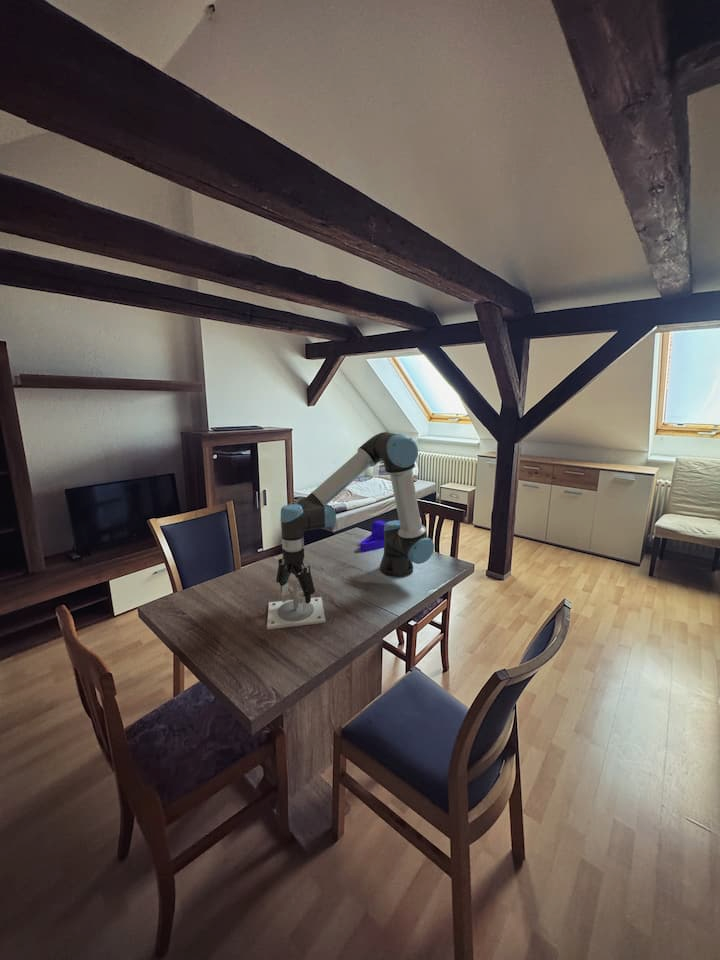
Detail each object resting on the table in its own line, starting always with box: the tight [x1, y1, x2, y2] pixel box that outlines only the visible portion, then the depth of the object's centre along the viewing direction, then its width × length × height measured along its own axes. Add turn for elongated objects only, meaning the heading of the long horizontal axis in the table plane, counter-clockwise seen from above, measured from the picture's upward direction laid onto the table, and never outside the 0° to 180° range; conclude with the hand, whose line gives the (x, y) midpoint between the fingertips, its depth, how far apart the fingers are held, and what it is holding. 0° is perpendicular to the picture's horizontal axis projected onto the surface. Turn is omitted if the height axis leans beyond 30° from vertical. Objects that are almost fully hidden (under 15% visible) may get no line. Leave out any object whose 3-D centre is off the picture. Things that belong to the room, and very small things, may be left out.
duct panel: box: [266, 596, 327, 630], centre depth 139 cm, size 20×16×2 cm
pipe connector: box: [280, 580, 304, 609], centre depth 137 cm, size 10×10×10 cm
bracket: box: [359, 519, 388, 553], centre depth 199 cm, size 18×11×12 cm, turn 135°
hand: (295, 605), depth 138 cm, fingers closed on pipe connector, 10 cm apart
